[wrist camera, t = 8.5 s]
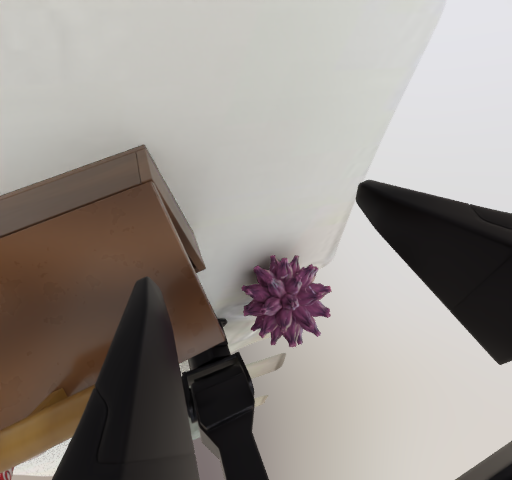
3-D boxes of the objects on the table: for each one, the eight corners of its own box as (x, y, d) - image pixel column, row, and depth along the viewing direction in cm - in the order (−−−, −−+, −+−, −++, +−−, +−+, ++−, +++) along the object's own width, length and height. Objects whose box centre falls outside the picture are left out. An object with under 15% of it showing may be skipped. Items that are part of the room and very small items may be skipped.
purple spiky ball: (261, 224, 31) (324, 250, 36) (218, 287, 35) (280, 302, 41) (295, 291, 22) (371, 312, 27) (232, 364, 26) (308, 368, 32)
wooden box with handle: (225, 335, 16) (229, 380, 11) (-9, 452, 14) (-121, 564, 9) (154, 183, 14) (126, 161, 10) (-114, 285, 12) (-304, 317, 8)
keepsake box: (193, 233, 25) (206, 268, 22) (53, 292, 23) (44, 341, 20) (144, 143, 18) (152, 178, 14) (-71, 220, 16) (-119, 280, 12)
